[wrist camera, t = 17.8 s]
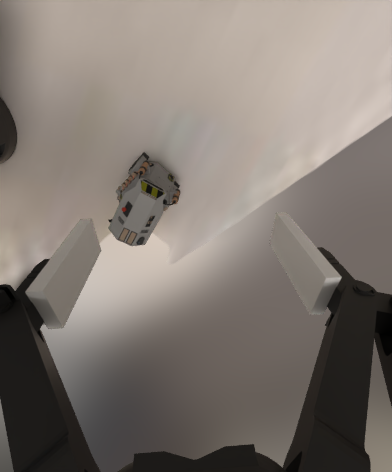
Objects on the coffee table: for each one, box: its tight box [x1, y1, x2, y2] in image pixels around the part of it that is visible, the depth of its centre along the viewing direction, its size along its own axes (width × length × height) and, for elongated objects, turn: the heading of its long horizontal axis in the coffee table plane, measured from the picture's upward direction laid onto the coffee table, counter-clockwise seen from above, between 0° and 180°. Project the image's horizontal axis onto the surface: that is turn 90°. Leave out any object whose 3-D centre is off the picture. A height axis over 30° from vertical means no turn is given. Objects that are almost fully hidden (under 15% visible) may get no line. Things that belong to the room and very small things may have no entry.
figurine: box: [109, 153, 180, 246], centre depth 37 cm, size 9×12×15 cm
